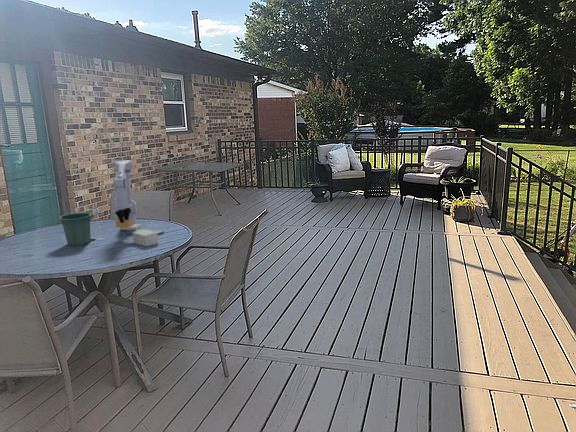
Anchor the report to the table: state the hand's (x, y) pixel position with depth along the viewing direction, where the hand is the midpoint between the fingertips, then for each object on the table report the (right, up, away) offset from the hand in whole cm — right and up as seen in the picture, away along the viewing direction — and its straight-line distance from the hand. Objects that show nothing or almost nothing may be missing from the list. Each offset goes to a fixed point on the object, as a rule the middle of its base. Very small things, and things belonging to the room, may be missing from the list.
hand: (124, 221), depth 256 cm
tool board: (+8, -7, +14) cm, 17 cm away
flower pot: (-24, -12, -4) cm, 28 cm away
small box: (+10, -8, -4) cm, 13 cm away
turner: (+3, -3, -1) cm, 4 cm away
